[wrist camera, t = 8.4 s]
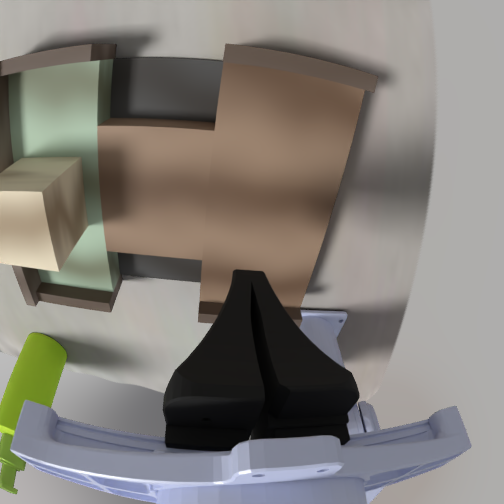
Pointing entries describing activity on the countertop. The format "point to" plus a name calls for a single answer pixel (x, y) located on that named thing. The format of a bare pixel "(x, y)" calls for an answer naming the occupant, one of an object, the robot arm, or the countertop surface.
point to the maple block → (41, 211)
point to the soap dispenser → (27, 395)
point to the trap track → (185, 165)
